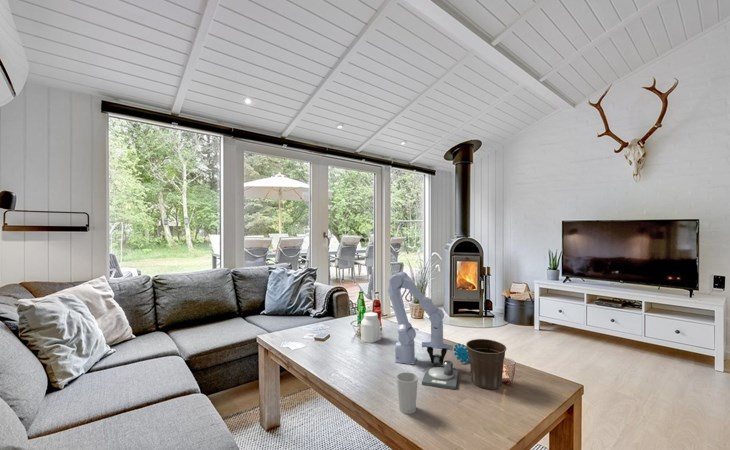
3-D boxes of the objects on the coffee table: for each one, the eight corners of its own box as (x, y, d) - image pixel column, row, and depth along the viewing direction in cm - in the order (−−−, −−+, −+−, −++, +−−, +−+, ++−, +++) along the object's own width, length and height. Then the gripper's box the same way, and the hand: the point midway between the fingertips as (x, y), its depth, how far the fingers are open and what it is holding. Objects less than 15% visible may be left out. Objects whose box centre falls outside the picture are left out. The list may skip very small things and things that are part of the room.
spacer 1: (432, 367, 159) (432, 356, 158) (433, 364, 162) (433, 353, 162) (441, 368, 157) (440, 358, 157) (442, 365, 161) (441, 354, 161)
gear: (459, 362, 160) (451, 342, 166) (453, 368, 163) (445, 348, 170) (477, 361, 164) (469, 342, 171) (470, 367, 168) (463, 348, 174)
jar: (370, 344, 190) (369, 317, 190) (358, 340, 196) (358, 314, 196) (383, 338, 198) (383, 313, 198) (371, 334, 205) (371, 310, 205)
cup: (395, 403, 128) (394, 372, 127) (415, 402, 128) (415, 371, 128) (398, 415, 120) (398, 382, 120) (420, 414, 120) (420, 381, 120)
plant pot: (487, 396, 132) (487, 356, 132) (458, 379, 146) (458, 343, 146) (515, 386, 140) (515, 348, 139) (485, 371, 154) (484, 336, 154)
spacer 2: (451, 376, 145) (451, 364, 145) (442, 374, 147) (442, 363, 147) (454, 372, 148) (453, 361, 148) (445, 370, 150) (445, 359, 150)
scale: (421, 384, 142) (421, 379, 142) (427, 368, 157) (427, 364, 157) (455, 389, 138) (455, 384, 138) (458, 372, 153) (458, 368, 153)
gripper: (420, 336, 158) (420, 364, 158) (451, 339, 153) (452, 368, 154) (422, 331, 165) (423, 358, 165) (453, 334, 160) (453, 362, 160)
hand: (437, 363), depth 160 cm, fingers closed on spacer 1, 4 cm apart
